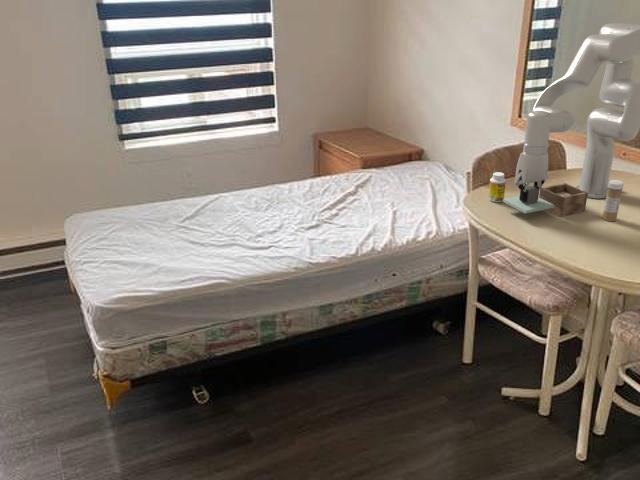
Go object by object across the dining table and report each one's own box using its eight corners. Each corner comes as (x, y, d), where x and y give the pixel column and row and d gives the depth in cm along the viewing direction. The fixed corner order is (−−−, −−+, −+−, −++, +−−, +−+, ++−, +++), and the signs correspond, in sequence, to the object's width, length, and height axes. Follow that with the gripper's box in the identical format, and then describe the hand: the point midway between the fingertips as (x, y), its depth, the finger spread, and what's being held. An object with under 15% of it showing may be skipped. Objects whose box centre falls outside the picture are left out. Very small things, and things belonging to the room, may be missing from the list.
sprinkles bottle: (608, 215, 202) (615, 178, 197) (619, 220, 199) (627, 182, 193) (598, 218, 201) (605, 180, 195) (610, 223, 197) (617, 185, 191)
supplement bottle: (496, 204, 215) (499, 177, 211) (485, 199, 219) (487, 173, 215) (507, 200, 218) (509, 174, 213) (495, 196, 222) (497, 170, 218)
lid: (530, 198, 212) (532, 180, 209) (553, 210, 202) (556, 191, 199) (502, 204, 209) (504, 185, 206) (524, 216, 198) (527, 196, 195)
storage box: (562, 201, 215) (565, 183, 212) (584, 211, 206) (587, 192, 203) (537, 206, 212) (540, 187, 209) (559, 217, 203) (562, 198, 200)
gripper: (547, 142, 202) (540, 192, 210) (507, 149, 197) (501, 200, 205) (563, 148, 196) (555, 199, 204) (522, 155, 191) (515, 207, 199)
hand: (528, 199), depth 204 cm, fingers closed on lid, 4 cm apart
